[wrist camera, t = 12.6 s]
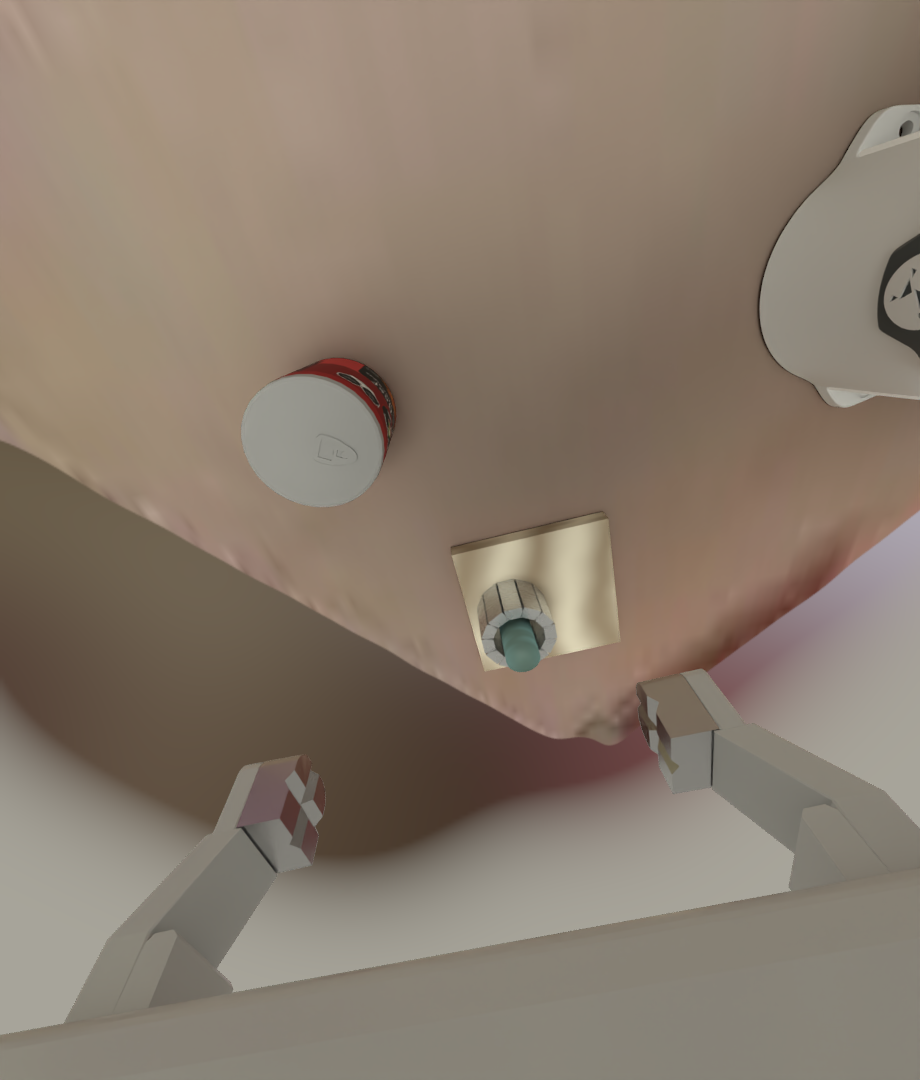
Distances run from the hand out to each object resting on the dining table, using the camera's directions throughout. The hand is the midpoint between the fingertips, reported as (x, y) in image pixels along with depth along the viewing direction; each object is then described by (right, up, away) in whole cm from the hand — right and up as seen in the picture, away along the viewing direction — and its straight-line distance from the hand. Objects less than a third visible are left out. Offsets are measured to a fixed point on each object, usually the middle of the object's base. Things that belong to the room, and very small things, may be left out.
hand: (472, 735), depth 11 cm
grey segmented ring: (+5, -2, +32) cm, 32 cm away
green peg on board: (+7, 0, +33) cm, 34 cm away
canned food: (-9, +15, +25) cm, 30 cm away
